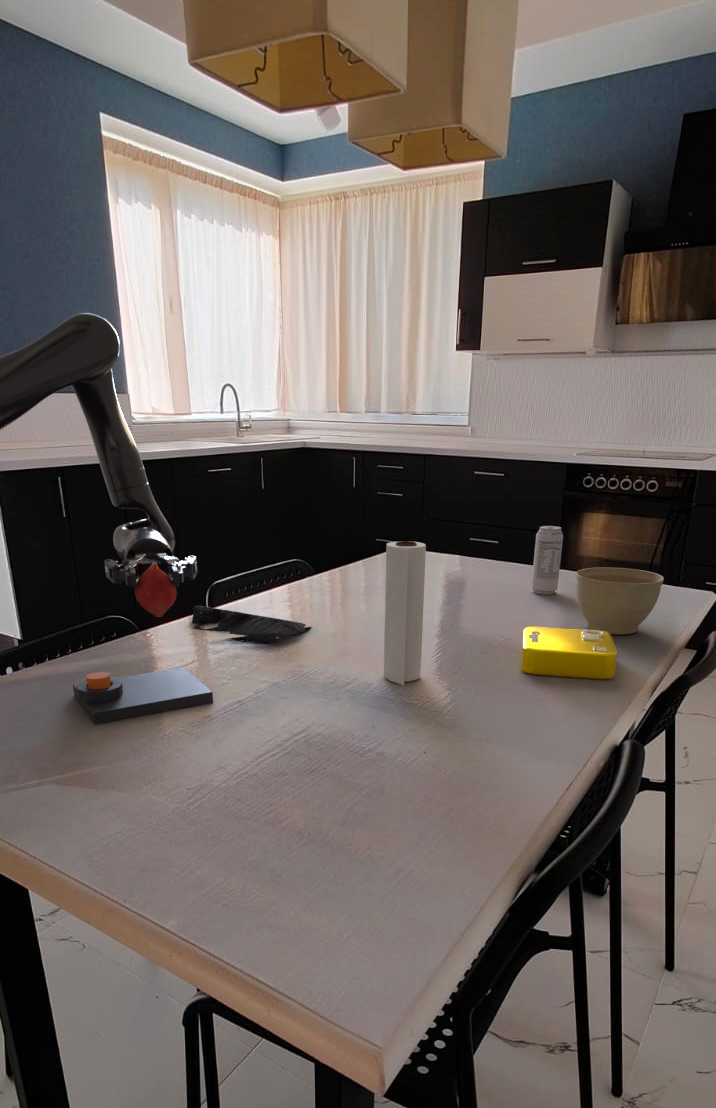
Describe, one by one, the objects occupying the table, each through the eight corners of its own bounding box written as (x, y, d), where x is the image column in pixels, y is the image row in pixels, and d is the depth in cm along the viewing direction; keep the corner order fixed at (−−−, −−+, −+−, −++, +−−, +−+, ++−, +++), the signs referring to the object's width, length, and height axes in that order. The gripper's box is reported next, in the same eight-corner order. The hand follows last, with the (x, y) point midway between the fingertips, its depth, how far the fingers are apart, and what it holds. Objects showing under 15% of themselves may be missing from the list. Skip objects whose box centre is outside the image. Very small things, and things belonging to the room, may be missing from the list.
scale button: (90, 692, 108) (88, 680, 107) (85, 685, 110) (83, 673, 110) (113, 688, 109) (112, 676, 109) (107, 681, 112) (106, 670, 111)
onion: (129, 619, 112) (123, 564, 109) (153, 610, 117) (148, 557, 113) (163, 623, 110) (157, 567, 107) (186, 614, 115) (181, 560, 112)
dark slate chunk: (275, 651, 137) (274, 625, 135) (177, 635, 146) (175, 610, 144) (317, 631, 149) (317, 607, 148) (224, 617, 158) (223, 594, 156)
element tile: (521, 648, 140) (524, 622, 138) (607, 654, 137) (610, 628, 135) (520, 674, 126) (523, 646, 125) (615, 681, 124) (619, 652, 122)
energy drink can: (556, 590, 184) (563, 526, 178) (556, 595, 179) (564, 529, 173) (531, 588, 185) (537, 525, 180) (530, 594, 180) (536, 528, 174)
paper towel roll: (396, 668, 129) (400, 538, 120) (427, 675, 126) (433, 542, 117) (371, 679, 123) (374, 544, 115) (403, 687, 120) (408, 548, 112)
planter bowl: (672, 632, 151) (681, 577, 146) (618, 645, 142) (627, 587, 138) (605, 615, 163) (612, 563, 158) (552, 626, 154) (558, 571, 150)
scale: (91, 726, 105) (87, 702, 103) (70, 697, 115) (67, 675, 113) (213, 704, 113) (211, 681, 111) (184, 678, 123) (182, 657, 122)
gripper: (99, 535, 120) (98, 555, 105) (192, 532, 124) (205, 551, 109) (105, 583, 123) (105, 609, 108) (196, 578, 127) (208, 603, 112)
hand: (155, 580), depth 109 cm, fingers closed on onion, 5 cm apart
